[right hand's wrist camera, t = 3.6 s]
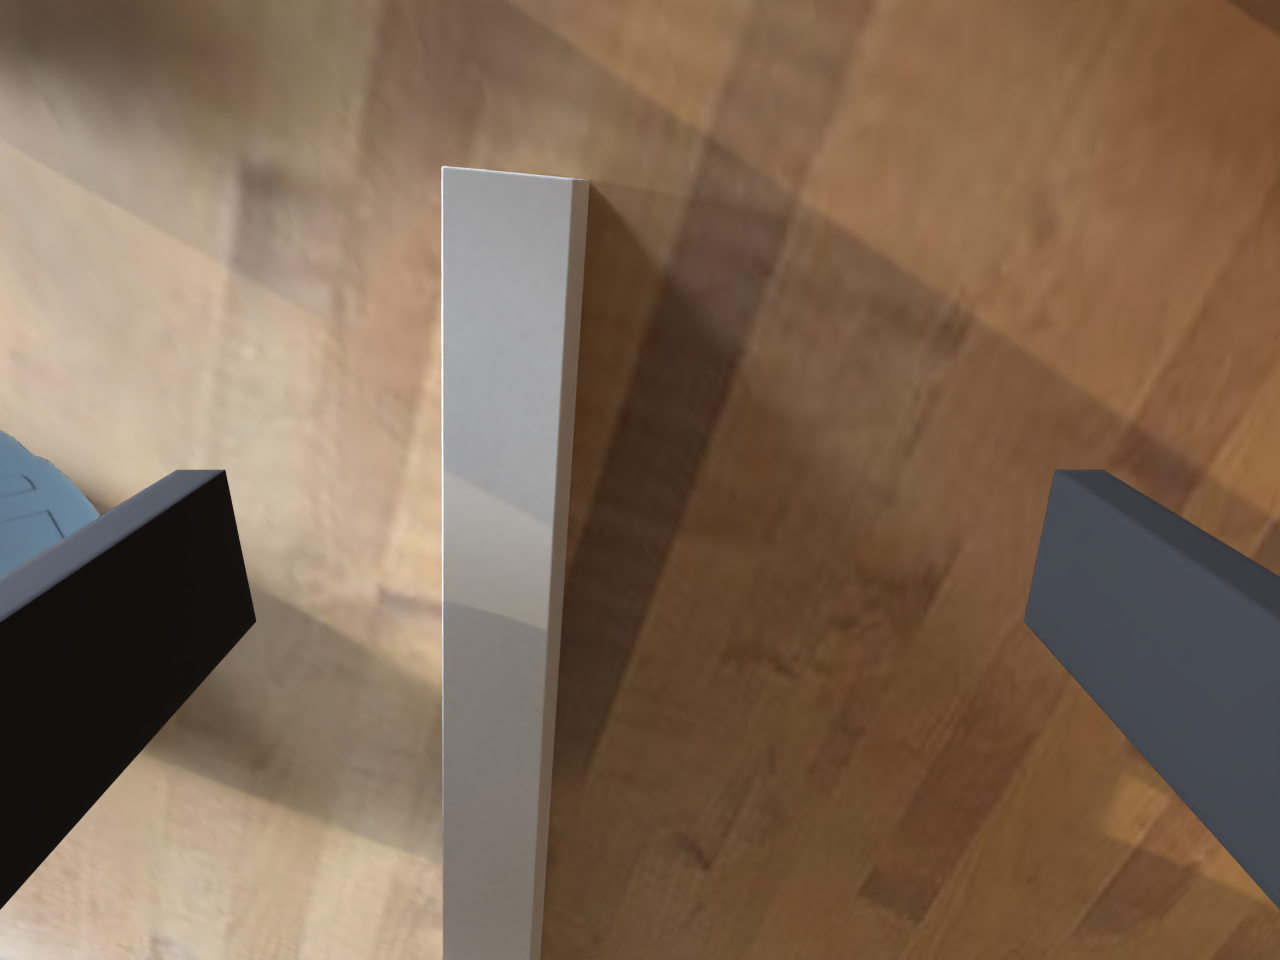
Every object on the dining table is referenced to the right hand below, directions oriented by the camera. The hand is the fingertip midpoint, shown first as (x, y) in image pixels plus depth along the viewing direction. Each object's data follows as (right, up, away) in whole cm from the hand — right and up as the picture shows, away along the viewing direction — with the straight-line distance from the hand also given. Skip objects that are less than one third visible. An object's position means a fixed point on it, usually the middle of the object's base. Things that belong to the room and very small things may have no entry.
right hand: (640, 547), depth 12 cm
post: (-7, -12, +32) cm, 35 cm away
